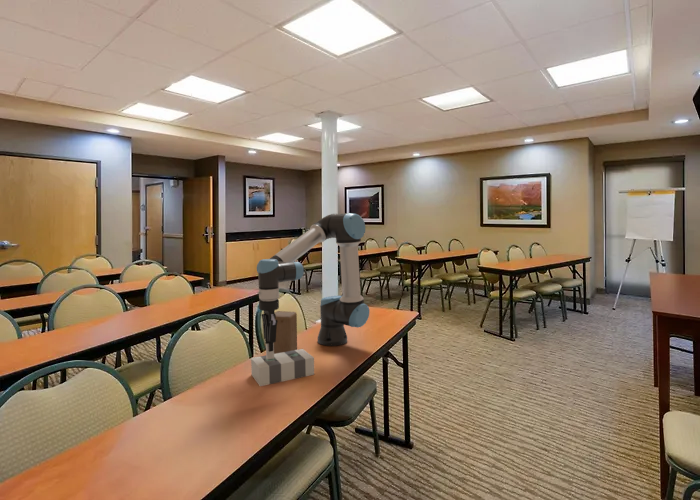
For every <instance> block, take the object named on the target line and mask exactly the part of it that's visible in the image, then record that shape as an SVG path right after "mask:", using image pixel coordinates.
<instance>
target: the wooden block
mask: <svg viewBox="0 0 700 500" xmlns="http://www.w3.org/2000/svg"><path fill="white" fill-rule="evenodd" d="M274 312H275V311H274ZM275 315H276V318H275V320H277V321H278V322H277V329H276V342H274V354H276V353H282V352H287V351H293V350H298V320H297V316H298V315H297V312H296V311H283V310H278V311H277V310H276V312H275Z"/></svg>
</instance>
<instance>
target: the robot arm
mask: <svg viewBox="0 0 700 500" xmlns="http://www.w3.org/2000/svg"><path fill="white" fill-rule="evenodd" d="M365 223H366V222H365V221H364V219H363V218H362V217H361V215H359V214H357V213H351V212H349V213H347V212H346V213H331V214H327V215H326V216H324V217H322V218H320V219H319V220H317V221H316V222H314V223H313V224H312V225H310V227H309V229H308V230H307V231H306V232H304V233H303V234H301V235H300V236H299V237H297V238H296V239H295V240H294V241H292V242H290V243H289V244H288V245H286V246H284V247H283V248H282V249H281V250H279V251H278V252H277V253H275V254H274V255H273V256H271V257H269V258H265V259H260V260H259V261H258V262H257V265H256V272H257V275H258V276H257V277H258V291H257V294H258V298H259V301H258V309H259V310H260V311H262V312H263V313H261V319H262V330H263V339H264V341H265V355H266V359H267V360H269V359H274V342H276V329H277V322H278V321H277V320H275V318H276V315H275V311H277V310H278V309H279V308H280V300H279V298H280V294H279V293H280V290H279V289H280V287H279V283H285V282H291V281H297V280H301V279H302V278H303V276H304V272H305V271H304V269H305V268H304V266H303V264H302V263H301V262H299V261H297V260H298V259H299V258H301V257H302V256H303V255H305V254H306V253H307V252H308V251H310V250H312V248H314V247H315V246H316V245H318V244H319V243H324V242H325V241H327V240H329V239H334V238H335V242H336V244H337V245H338V246H339V256H340V257H339V259H340V273H341V274H340V276H341V277H340V278H341V291H342V295H331V296H325V297H322V298H321V299H320V305H319V307H320V329H319V330H318V331H319V332H318V335H317V343H318V344H319V345H322V346H327V347H328V346H329V347H330V346H331V347H337V346H343V345H346V343H348V334H347V332H346V329H345V326H348V327H351V328H361V327H363V326H364V325H365V324H366V323H367V321H368V320H369V318H370V307H369V306H368V304H366V303H365V298H364V296H363V295H361V282H360V280H361V279H360V264H359V263H360V262H359V261H360V260H359V244H361V242H362V240H361V239H362V238H363V237H364V235H365V233H366V224H365Z"/></svg>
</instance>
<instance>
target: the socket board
mask: <svg viewBox="0 0 700 500" xmlns="http://www.w3.org/2000/svg"><path fill="white" fill-rule="evenodd" d="M291 353H298V354H299V357H295V358H290V357H289V355H290V354H291ZM274 358H275V359H276V361H274V362H269V363H266V362H265V359H266V354H265V355H260V356H255V357H251V359H250V361H251V362H250V363H251V364H250V365H251V369H250V370H251V377H252V378H254V379H253V380H255V382H256V383H257V384H258V387H263V386H264V387H265V386H268V385H272V384H277V383H281V382H286V381H290V380H295V379H299V378H305V377H309V376H314V375H315V357H314V356H313V355H311V354H310V353H309V352H308V351H306V350H305V349H304V348H301V349H297V350H293V351H287V352H282V353H276V354H274Z"/></svg>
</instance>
